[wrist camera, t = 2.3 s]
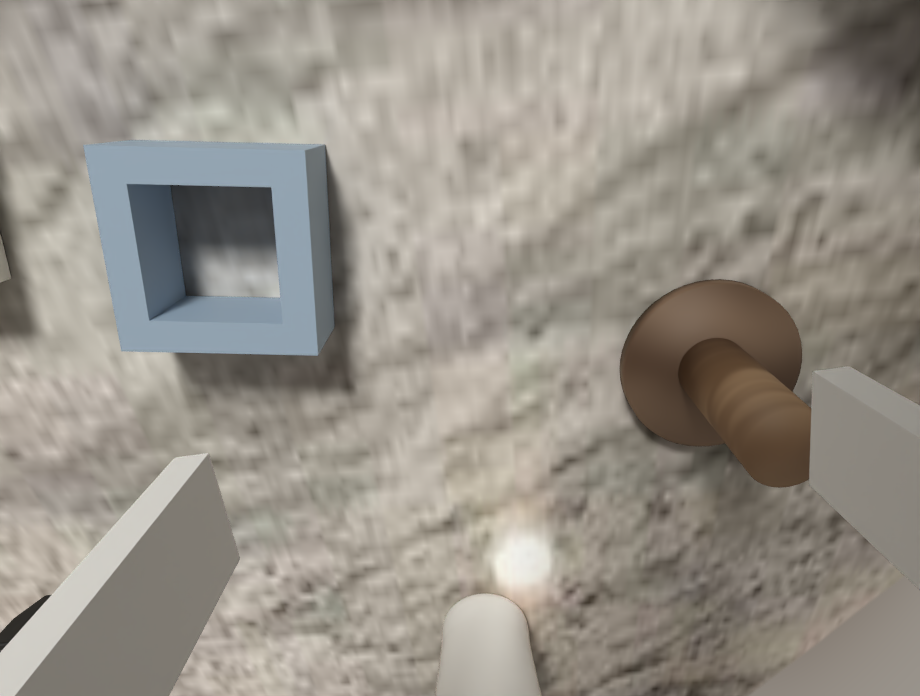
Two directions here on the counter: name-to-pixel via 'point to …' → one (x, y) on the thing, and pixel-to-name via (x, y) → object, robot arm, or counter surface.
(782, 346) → the post
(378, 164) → the counter surface
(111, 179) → the collar
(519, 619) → the drinking glass
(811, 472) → the robot arm
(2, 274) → the cream rectangular open frame
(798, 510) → the counter surface
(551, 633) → the counter surface
